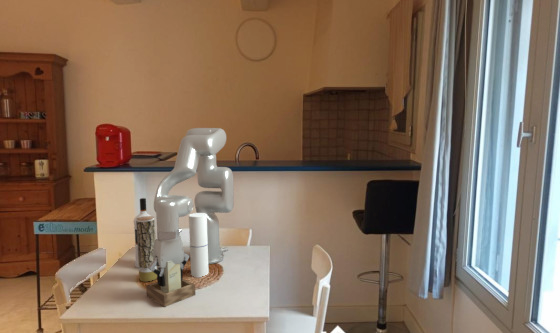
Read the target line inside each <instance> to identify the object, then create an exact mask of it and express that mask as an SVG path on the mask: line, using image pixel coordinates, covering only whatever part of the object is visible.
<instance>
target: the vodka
mask: <svg viewBox="0 0 560 333" xmlns="http://www.w3.org/2000/svg"><path fill="white" fill-rule="evenodd" d="M139 210H140V211H139V214H138V215H136V216H135V217H134V219H133V229H134V243H135V244H134V247H135V259H134V266H135V267H136V268H138V269H139V261H138V243H137V225H136V219H137V218H139V217H144V216H152V215H151V214H149V213H148V212H147V211H148V210H147V198H145V197H143V198H140V199H139Z"/></svg>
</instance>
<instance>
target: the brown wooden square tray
mask: <svg viewBox="0 0 560 333" xmlns="http://www.w3.org/2000/svg"><path fill="white" fill-rule="evenodd" d="M145 290H146V297H147V298H149V299H151V300H152V301H154V302H155V303H158V304H160V305H161V306H163V307H164V308H165V307H169V306H170V305H173V304H175V303H179V302H182V301H183V300H185V299H189V298H191V297H193V296H196V284H194V283H193V282H191V281H188V280H187V279H185V278H183V280H181V288H179V289H176V290H174V291H171V292H168V293H164V292H162V291H161V286H160V285H159V284H158V281H155V282H152V283H150V284H147V285H145Z"/></svg>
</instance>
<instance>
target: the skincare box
mask: <svg viewBox="0 0 560 333" xmlns="http://www.w3.org/2000/svg"><path fill="white" fill-rule="evenodd" d="M163 276H164V283H165V286H164V287H162V286H161V291H162V292H164V293H168V292H171V291H174V290H176V289H179V288H181V271H180V263H179V264H174V263H173V262H172V261H168V262H167V265H166V268H165V269H164V272H163Z"/></svg>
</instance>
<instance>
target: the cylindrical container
mask: <svg viewBox="0 0 560 333" xmlns="http://www.w3.org/2000/svg"><path fill="white" fill-rule="evenodd" d="M188 228H189V230H188V231H189V234H188V235H189V249H190V250H189V254H190V255H189V259H190V275H192V276H191V277H193V276H194V277H193V278H203V277H202V276H205V275H207V274H208V273H209V264H208V237H207V214H206V213H196V212H194V213H190V214H188ZM208 275H209V274H208ZM208 275H207V276H208ZM205 277H206V276H205Z"/></svg>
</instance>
